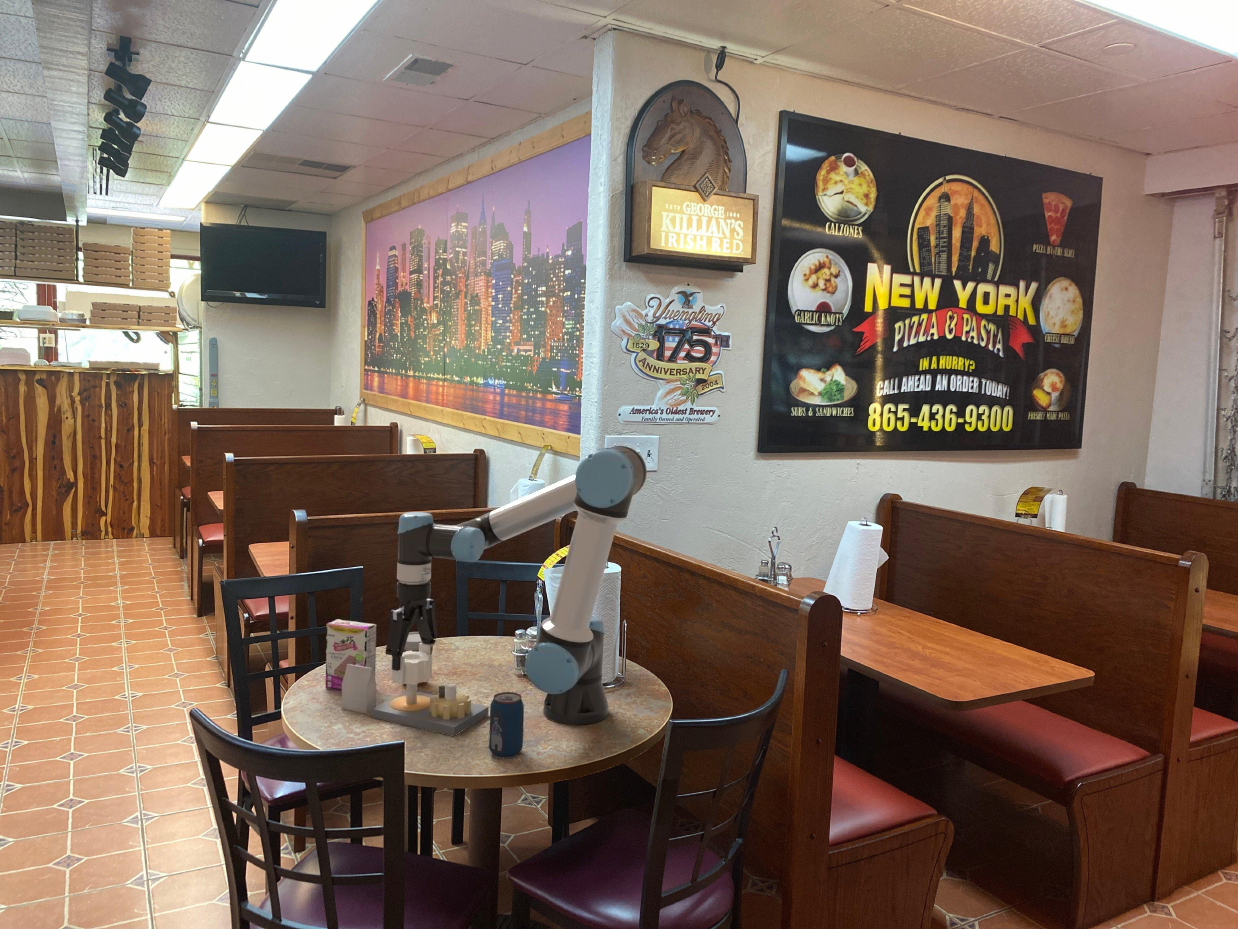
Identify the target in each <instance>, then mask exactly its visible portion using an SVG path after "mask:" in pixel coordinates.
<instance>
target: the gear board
mask: <svg viewBox="0 0 1238 929" xmlns="http://www.w3.org/2000/svg"><path fill="white" fill-rule="evenodd" d="M405 687H406V688H405V691H404V692H403V693H400V694H399V695H396V696H394V697H392V698H390V699H388V700H387V701H384V702H382V703H380V704H378V705H376V707H374V708H372V711H370V712H371V713H370V714H371V718H374V719H377V720H382V721H386V722H390V723H395V724H399V725H404V726H408V727H412V728H416V729H421V730H425V729H427V730H426V731H429V730H431V731H430V732H433V731H436V732H435V733H438V732H440V733H439V734H442V733H444V734H443V735H446V734H448V735H447V736H451V735H452V737H455V736H457V735H458V734H460V733H462V732H463V731H465V730H466V728H467V729H468V728H470V727H471V726H473V725H475V724H476V723H478V722H479V721H481V720H483V719H484V718H486V717H488V716H489V709H490V706H488V705H483V704H478V703H473V702H472V698H470V695H469V694H467V693H459V692H458V691H457V684H453V683H449V684H446V685H439V686H438V693H436V694H431V693H426V692H421V691H418V687H417V684H415V685H411V684H406V686H405ZM469 726H470V727H469ZM464 729H465V730H464ZM462 730H463V731H462ZM461 731H462V732H461ZM459 732H460V733H459ZM456 734H457V735H456Z"/></svg>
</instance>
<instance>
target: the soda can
mask: <svg viewBox="0 0 1238 929" xmlns="http://www.w3.org/2000/svg"><path fill="white" fill-rule="evenodd" d="M489 709H490V710H489V737H488V740H489V741H488V749H489V751H490V752H491V755H492V756H493V757H495V758H498V759H503V758H504V759H507V758H508V759H513V758H515V757H517V756H519V755H520V753H521V751H522V750H523V746H524V744H523V743H524V720H525V719H524V716H525V715H524V714H525V703H524V702H523V699H522V695H521V694H519V693H517V692H513V691H504V692H499V693H498V692H497V693H495V694H494V695H493V699H492V701H491V703H490V706H489ZM508 759H507V760H508Z"/></svg>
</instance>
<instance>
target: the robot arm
mask: <svg viewBox="0 0 1238 929" xmlns="http://www.w3.org/2000/svg"><path fill="white" fill-rule="evenodd" d="M647 473H648V472H647V465H646V462H645V460H644V458H643V457H642V455H641V454H640V452H638V451H636V449H633V448H632V447H629V446H625V445H614V446H612V447H603V448H598V449H596V450H593V451H592V452H590V453H588V454H587V455H586V456H585V457H584V458H583V459H582V460H581V461H580V463H579V464H578V466H577V468H576V470H575V473H574V474H573V475H570V476H567V477H566V478H564V479H562V480H559V481H557V482H555V483H553V484H550V485H548V486H546V487H544V488H542V489H539V490H537V491H534V492H532V493H530V494H527V495H526V496H523V497H520V498H519V499H516V500H514V501H512V502H510V503H507V504H505V505H503V506H501V507H499V508H496V509H494V510H492V511H489V512H487V513H484V514H482V515H480V516H479V517H478V516H477V517H475V518H473V519H471V520H468V521H464V522H461V523H458V524H453V525H451V524H450V525H449V524H440V523H435V522H434V517H433V514H432V513H429V512H423V511H411V512H410V511H407V512H404V513H402V514H401V515H400V517H399V519H398V529H397V537H398V538H397V548H398V549H397V565H396V567H397V568H396V579H397V580H398V582H396V597H397V599H399V601H400V603H399V604H400V605H399V607H398V609H396V610H395V609H391V610H390V612H389V616H390V618H389V619H390V621H389V627H388V628H389V629H388V634H387V640H386V646H385V652H384V653H385V655H389V656H391V657H392V670H393V674H392V680H391V681H392V684H397V685H401V686H403V684H404V674H405V656H404V655H402V654H403V651H404V648H405V644H406V641H407V638H408V635H409V632H410V631H411V628H413V627H414V624H415V625H416V628H417V632H419V635H420V638H421V641H422V642H423V643H419V652H420V651H422V652H426V654H427V655H431V644H434V645H435V644H436V641H437V640H436V639H437V638H438V629H437V620H436V610H435V606H436V600H435V599H432V598H431V596H432V595H431V592H432V590H431V589H432V588H431V587H432V583H431V581H430V580H431V578H432V561H433V560H432V559H433V558H437V559H438V558H439V559H447V560H455V561H459V562H475V561H479V559H480V558H481V556H482V555H483V554H484V550H486V549H489V548H492V547H494V546H495V545H497V544H500V543H502V542H504V541H506V540H508V539H511V538H513V537H516V536H518V535H520V534H523V533H525V532H528V531H530V530H532V529H534V528H537V527H539V526H541V525H543V524H546V523H549V522H551V521H553V520H556V519H558V518H560V517H563V516H565V515H567V514H570V513H572V512H574V511H577V517H576V521H575V525H574V528H573V532H572V535H571V540H570V543H569V546H568V547H569V548H568V551H567V554H566V558H565V562H564V566H563V569H562V572H561V577H560V581H559V584H558V587H557V592H556V596H555V598H554V602H553V606H552V610H551V613H550V616H548V617H547V618H545V619H543V620H542V622H541V624H540V628H539V632H538V635H537V638H536V639H537V640H536V642H535V644H534V646H532V647H531V649H530V650H529V652H528V653H527V656H526V658H525V665H524V666H525V667H524V668H525V672H526V675H527V677H528V679H529V681H530V682H531V684H532V685H533V686H534V687H535V688H537V689H538V690H539V691H541V692H544V693H545V694H546V696H545V697H544V702H543V708H542V709H543V710H542V712H543V715H544V716H545V717H546V718H547V719H549V720H551V721H554V722H556V723H559V724H565V725H578V726H579V725H590V724H596V723H598V722H601V721H603V720H605V719H606V718H607V716H608V715H609V703H608V700H607V695H606V692H605V688H604V684H603V663H604V659H603V658H604V642H605V641H604V639H605V636H604V635H605V625H604V624H605V623H604V621H603V620H602V619H601V618H600V617H597V616H593V613H594V609H595V606H596V604H597V603H596V601H597V599H598V595H599V592H600V588H601V584H602V581H603V577H604V573H605V570H606V566H607V562H608V559H609V555H610V551H611V548H612V544H613V540H614V538H615V533H616V530H617V527H618V524H619V523H621V522H623V521H624V520H625V519H627V517H628V514H629V510H630V508H631V507H630V506H631V502H632V499H633V496H634V495H636V494H637V493H639V492H640V490H641V489H642V488H643V486H644V485H645V482H646V479H647ZM433 639H434V640H433ZM398 649H399V651H398Z"/></svg>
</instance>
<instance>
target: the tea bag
mask: <svg viewBox="0 0 1238 929" xmlns="http://www.w3.org/2000/svg"><path fill="white" fill-rule="evenodd" d="M376 706H377V681H376V676H375V677H374V674H373V668H369V667H363V666H357V665H351V664H347V667H346V671H345V675H344V678H343V682H342V691H341V709H342V710H347V711H351V710H352V711H353V712H357V713H362V714H368V713H369V712H372V708H374V707H376Z"/></svg>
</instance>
